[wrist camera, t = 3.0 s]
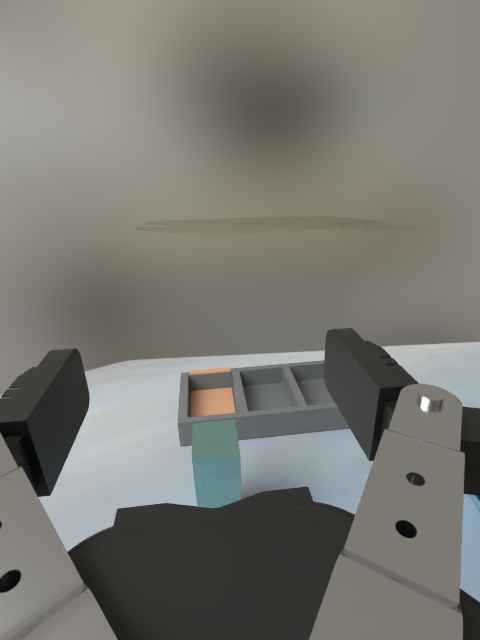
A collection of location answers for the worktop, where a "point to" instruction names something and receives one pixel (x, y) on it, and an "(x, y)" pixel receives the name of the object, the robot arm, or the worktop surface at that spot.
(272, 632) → the robot arm
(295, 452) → the worktop surface
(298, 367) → the slot rack
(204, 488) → the brushed teal metal block
